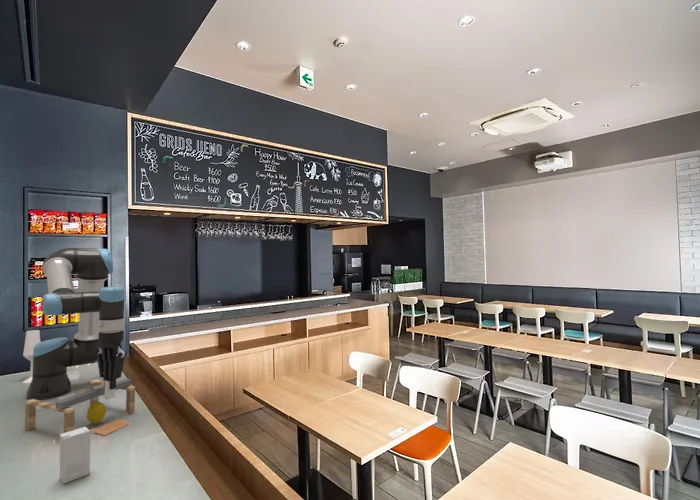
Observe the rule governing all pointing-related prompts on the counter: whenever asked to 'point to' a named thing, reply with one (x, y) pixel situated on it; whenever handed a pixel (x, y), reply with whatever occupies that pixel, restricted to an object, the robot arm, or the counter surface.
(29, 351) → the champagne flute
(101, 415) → the lemon
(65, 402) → the bar
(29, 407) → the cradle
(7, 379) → the counter surface
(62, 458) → the skincare box
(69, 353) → the robot arm
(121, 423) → the pad
